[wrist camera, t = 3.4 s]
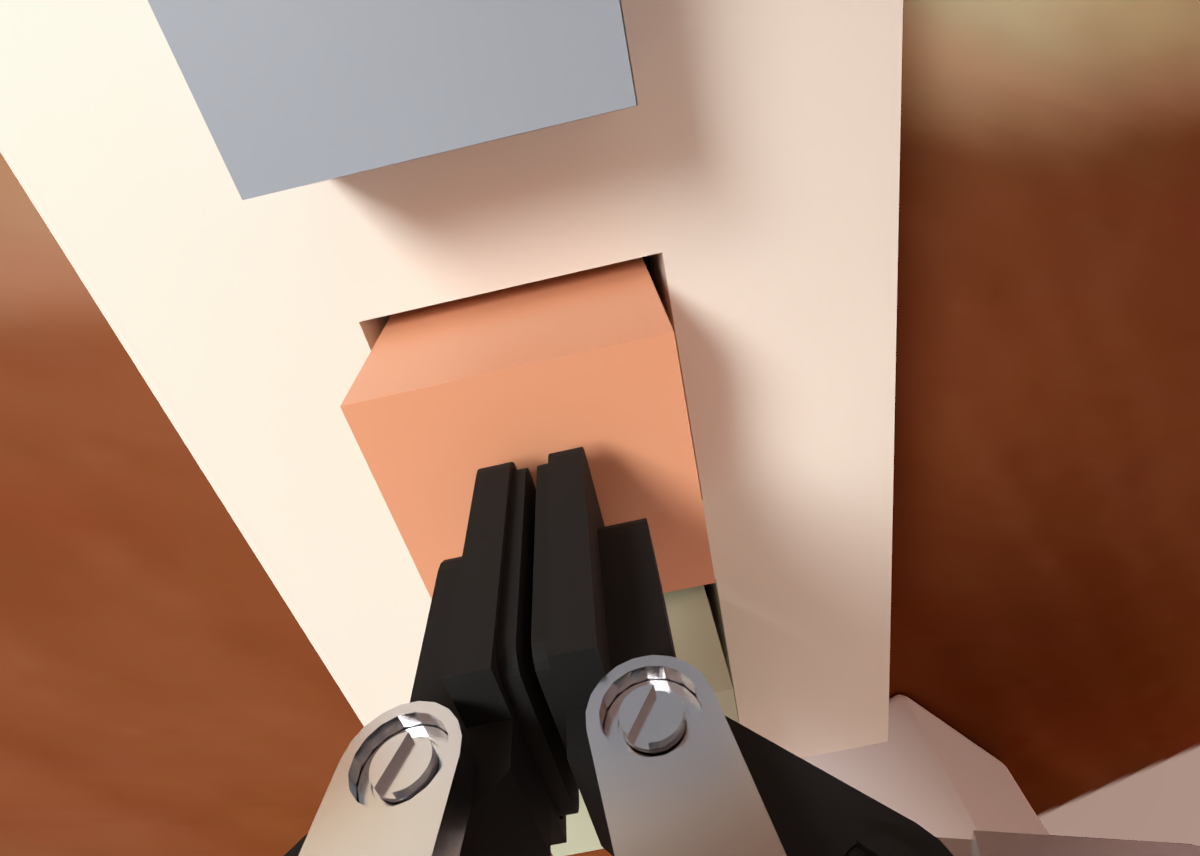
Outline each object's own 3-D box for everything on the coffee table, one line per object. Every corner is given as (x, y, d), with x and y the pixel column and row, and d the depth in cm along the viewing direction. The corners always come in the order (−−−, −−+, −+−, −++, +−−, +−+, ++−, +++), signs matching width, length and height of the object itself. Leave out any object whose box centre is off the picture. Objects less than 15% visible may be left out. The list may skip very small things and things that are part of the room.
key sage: (506, 595, 17) (495, 734, 14) (695, 556, 17) (732, 688, 14) (552, 715, 20) (554, 857, 16) (718, 682, 20) (754, 820, 16)
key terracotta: (393, 310, 13) (339, 406, 10) (640, 253, 13) (674, 332, 10) (470, 505, 16) (449, 636, 12) (678, 461, 16) (715, 582, 12)
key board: (-143, -336, 10) (-395, -472, 7) (814, -613, 9) (920, -872, 6) (442, 739, 23) (428, 829, 20) (848, 659, 22) (888, 741, 20)
